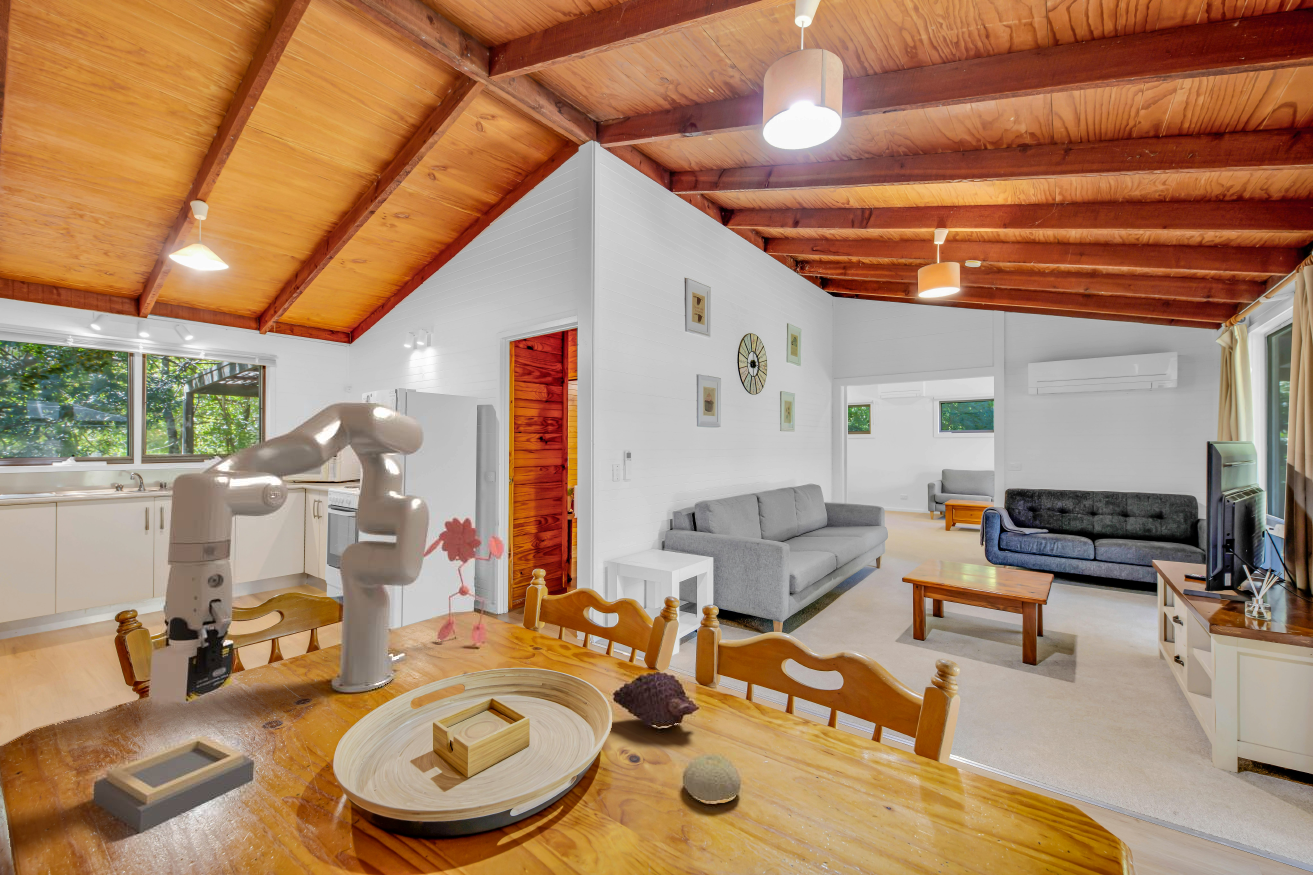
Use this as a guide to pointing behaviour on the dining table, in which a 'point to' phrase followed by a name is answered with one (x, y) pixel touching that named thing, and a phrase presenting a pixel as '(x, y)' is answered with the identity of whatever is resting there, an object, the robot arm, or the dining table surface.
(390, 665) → the robot arm
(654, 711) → the purple conch shell
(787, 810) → the dining table surface
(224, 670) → the medicine bottle
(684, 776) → the sea urchin shell
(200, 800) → the pedestal
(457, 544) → the flower headed figure
